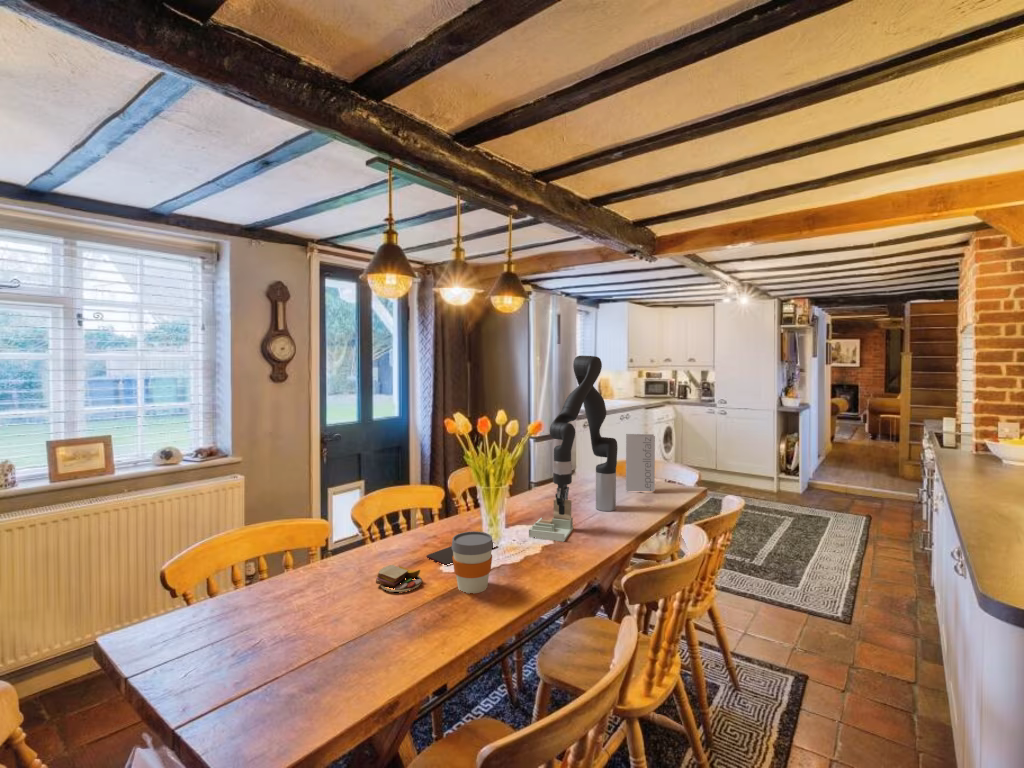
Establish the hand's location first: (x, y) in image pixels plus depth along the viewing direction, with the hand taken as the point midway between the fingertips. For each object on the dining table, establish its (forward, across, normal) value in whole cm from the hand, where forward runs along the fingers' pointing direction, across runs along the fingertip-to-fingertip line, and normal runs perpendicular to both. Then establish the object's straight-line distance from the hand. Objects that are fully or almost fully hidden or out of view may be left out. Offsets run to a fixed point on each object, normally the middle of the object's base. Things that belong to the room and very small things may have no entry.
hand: (562, 513), depth 202 cm
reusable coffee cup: (+7, +60, -13) cm, 61 cm away
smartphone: (+7, +36, -28) cm, 46 cm away
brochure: (+7, -70, +24) cm, 75 cm away
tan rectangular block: (+4, 0, 0) cm, 4 cm away
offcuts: (+6, +5, -6) cm, 9 cm away
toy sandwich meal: (+7, +66, -35) cm, 75 cm away
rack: (+7, +6, -3) cm, 9 cm away
